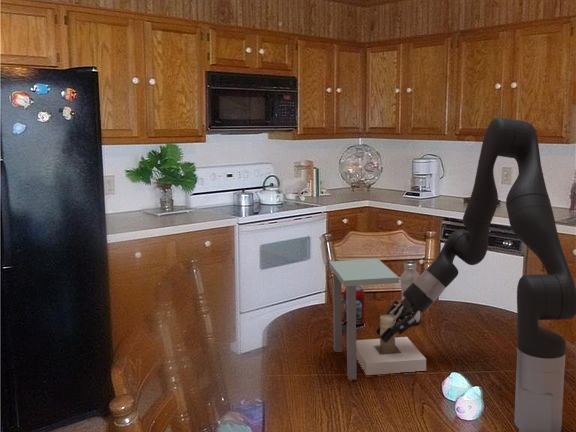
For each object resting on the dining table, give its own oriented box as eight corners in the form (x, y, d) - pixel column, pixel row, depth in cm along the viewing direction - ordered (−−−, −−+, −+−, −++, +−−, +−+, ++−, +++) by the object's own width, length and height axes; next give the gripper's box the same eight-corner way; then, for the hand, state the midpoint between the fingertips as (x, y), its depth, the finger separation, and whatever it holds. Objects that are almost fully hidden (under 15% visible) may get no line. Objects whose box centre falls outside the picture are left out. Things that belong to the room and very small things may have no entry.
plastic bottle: (395, 321, 190) (395, 261, 187) (412, 318, 193) (412, 259, 190) (407, 327, 184) (407, 266, 181) (424, 324, 187) (425, 263, 184)
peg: (392, 354, 156) (392, 320, 155) (377, 351, 158) (377, 318, 157) (397, 349, 160) (397, 315, 158) (383, 346, 162) (383, 313, 160)
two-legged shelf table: (377, 347, 169) (377, 258, 165) (398, 377, 149) (399, 277, 145) (330, 351, 168) (329, 261, 163) (345, 381, 148) (343, 280, 144)
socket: (406, 348, 168) (406, 336, 167) (426, 371, 152) (426, 359, 152) (352, 352, 166) (352, 340, 166) (366, 376, 151) (366, 363, 150)
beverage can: (340, 325, 188) (340, 289, 186) (348, 318, 194) (348, 283, 192) (360, 328, 185) (360, 291, 183) (367, 321, 191) (367, 286, 189)
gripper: (406, 275, 163) (364, 319, 164) (423, 289, 150) (377, 338, 150) (424, 292, 165) (382, 336, 166) (443, 308, 151) (397, 356, 152)
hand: (380, 336), depth 158 cm, fingers closed on peg, 4 cm apart
